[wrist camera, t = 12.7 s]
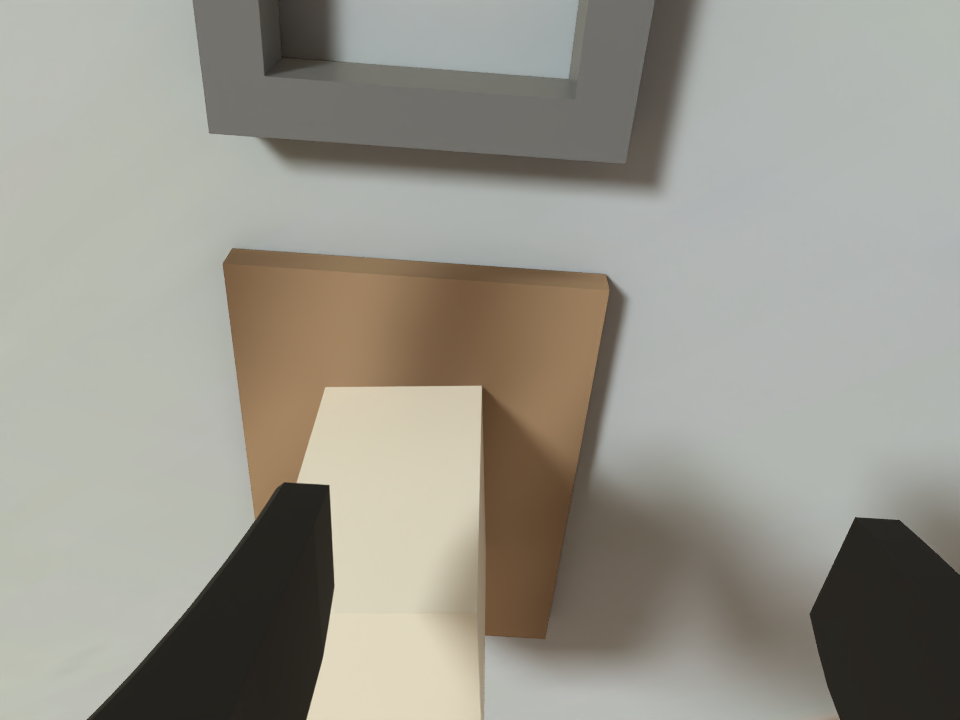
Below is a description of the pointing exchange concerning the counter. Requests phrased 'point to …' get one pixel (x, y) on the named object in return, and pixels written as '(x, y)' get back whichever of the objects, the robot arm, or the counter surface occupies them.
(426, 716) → the plug
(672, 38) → the counter surface
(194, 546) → the counter surface
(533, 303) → the walnut board
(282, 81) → the grey picture frame
